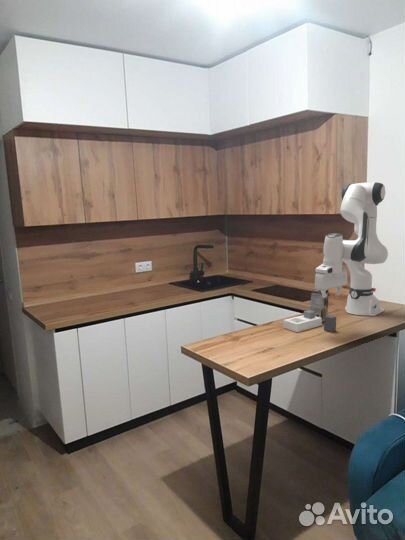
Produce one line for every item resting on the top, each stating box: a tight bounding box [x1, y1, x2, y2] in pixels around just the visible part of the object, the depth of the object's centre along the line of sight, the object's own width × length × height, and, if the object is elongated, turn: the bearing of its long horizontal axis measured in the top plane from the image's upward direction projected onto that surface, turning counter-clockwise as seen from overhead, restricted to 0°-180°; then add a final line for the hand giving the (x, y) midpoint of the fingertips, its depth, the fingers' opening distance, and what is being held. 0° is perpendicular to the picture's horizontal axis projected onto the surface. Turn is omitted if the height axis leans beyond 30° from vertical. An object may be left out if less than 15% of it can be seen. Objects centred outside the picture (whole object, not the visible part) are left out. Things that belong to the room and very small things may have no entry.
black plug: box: [323, 314, 337, 333], centre depth 199 cm, size 4×4×7 cm
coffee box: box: [309, 288, 329, 323], centre depth 216 cm, size 9×6×16 cm
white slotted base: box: [282, 309, 323, 333], centre depth 206 cm, size 18×9×7 cm, turn 125°
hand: (331, 296), depth 197 cm, fingers open, 8 cm apart
